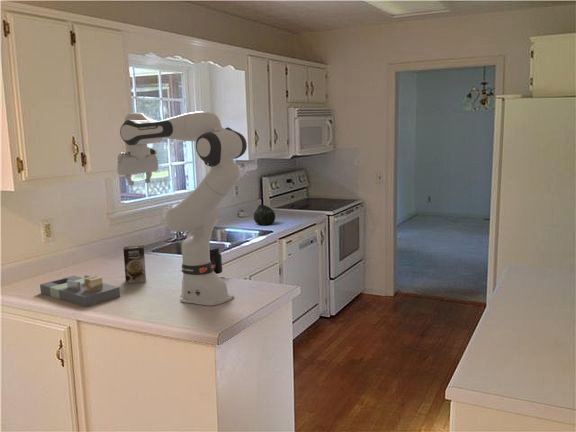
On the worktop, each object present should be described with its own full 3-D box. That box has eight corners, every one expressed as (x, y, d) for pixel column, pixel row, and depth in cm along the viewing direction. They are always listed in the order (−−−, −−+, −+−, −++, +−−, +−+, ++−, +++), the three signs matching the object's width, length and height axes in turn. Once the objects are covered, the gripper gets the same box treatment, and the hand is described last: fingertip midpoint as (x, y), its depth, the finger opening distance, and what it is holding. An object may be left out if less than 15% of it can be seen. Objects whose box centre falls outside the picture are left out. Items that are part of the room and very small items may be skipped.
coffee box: (125, 284, 242) (122, 249, 240) (125, 280, 248) (123, 246, 246) (146, 282, 245) (143, 247, 242) (146, 278, 251) (143, 244, 248)
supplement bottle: (212, 270, 262) (211, 246, 260) (225, 271, 259) (223, 246, 257) (205, 273, 255) (204, 249, 254) (218, 274, 253) (216, 250, 251)
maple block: (102, 289, 222) (101, 277, 221) (92, 292, 218) (91, 280, 217) (95, 287, 225) (94, 275, 224) (85, 290, 221) (84, 278, 220)
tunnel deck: (120, 296, 225) (118, 278, 223) (85, 307, 212) (84, 288, 211) (74, 284, 245) (73, 268, 244) (40, 293, 232) (39, 276, 231)
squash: (280, 217, 376) (272, 200, 382) (261, 220, 368) (253, 203, 374) (273, 228, 386) (265, 211, 393) (255, 231, 379) (247, 214, 385)
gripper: (123, 153, 218) (125, 186, 221) (159, 150, 236) (161, 181, 238) (112, 153, 222) (115, 186, 224) (149, 150, 239) (151, 181, 241)
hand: (139, 184), depth 231 cm, fingers open, 8 cm apart
